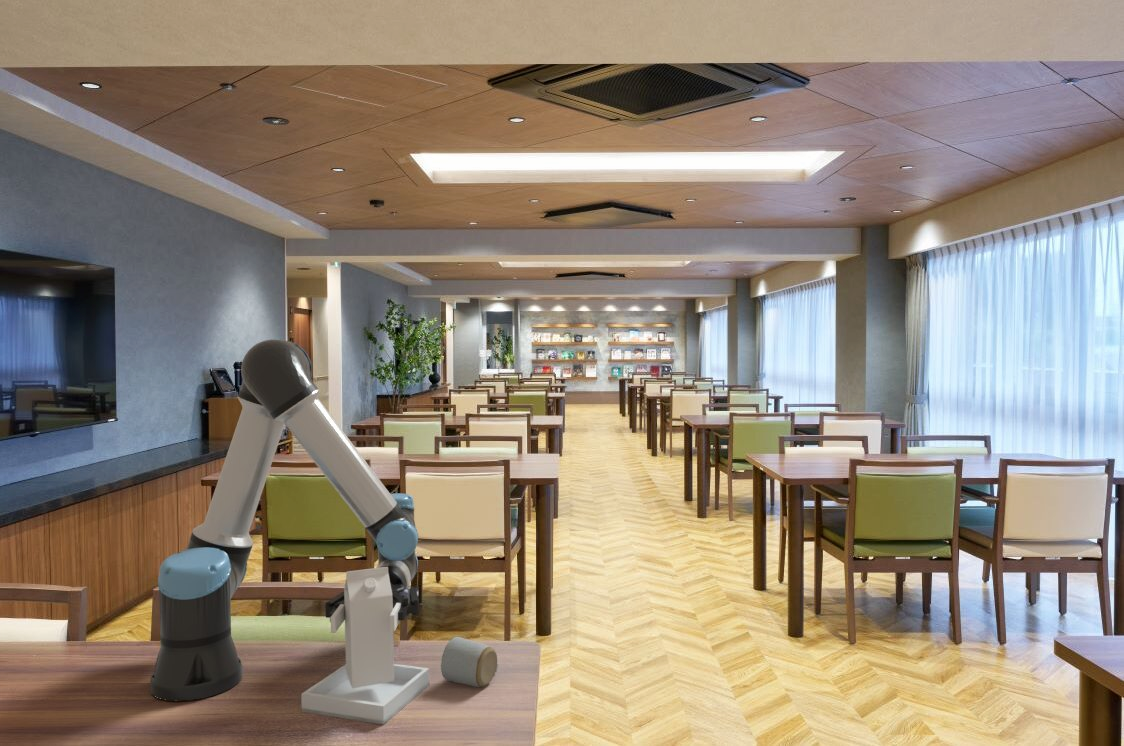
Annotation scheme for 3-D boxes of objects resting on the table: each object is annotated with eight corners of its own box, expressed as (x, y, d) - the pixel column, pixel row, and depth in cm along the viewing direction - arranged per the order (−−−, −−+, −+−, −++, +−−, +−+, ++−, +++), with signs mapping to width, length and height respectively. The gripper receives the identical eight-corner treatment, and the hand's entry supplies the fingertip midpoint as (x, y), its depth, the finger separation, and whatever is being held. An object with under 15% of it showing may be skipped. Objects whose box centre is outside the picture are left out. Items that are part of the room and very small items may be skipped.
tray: (301, 711, 130) (301, 693, 130) (354, 674, 145) (354, 658, 145) (383, 724, 125) (383, 706, 125) (429, 684, 140) (429, 668, 140)
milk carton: (346, 673, 137) (343, 566, 136) (386, 666, 140) (384, 561, 139) (352, 689, 130) (349, 577, 130) (394, 681, 133) (392, 571, 133)
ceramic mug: (479, 695, 136) (479, 651, 136) (439, 686, 139) (439, 644, 139) (508, 673, 146) (508, 632, 145) (471, 665, 149) (471, 625, 149)
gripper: (444, 601, 153) (428, 644, 131) (332, 604, 152) (297, 648, 130) (443, 563, 153) (427, 600, 130) (331, 566, 152) (296, 603, 130)
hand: (362, 624), depth 130 cm, fingers closed on milk carton, 9 cm apart
